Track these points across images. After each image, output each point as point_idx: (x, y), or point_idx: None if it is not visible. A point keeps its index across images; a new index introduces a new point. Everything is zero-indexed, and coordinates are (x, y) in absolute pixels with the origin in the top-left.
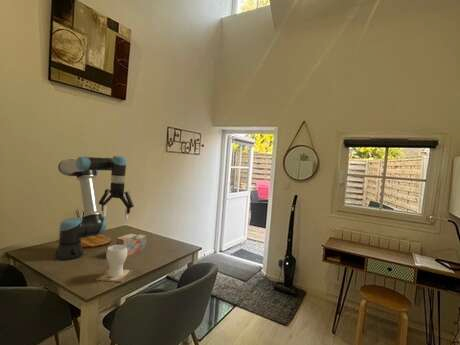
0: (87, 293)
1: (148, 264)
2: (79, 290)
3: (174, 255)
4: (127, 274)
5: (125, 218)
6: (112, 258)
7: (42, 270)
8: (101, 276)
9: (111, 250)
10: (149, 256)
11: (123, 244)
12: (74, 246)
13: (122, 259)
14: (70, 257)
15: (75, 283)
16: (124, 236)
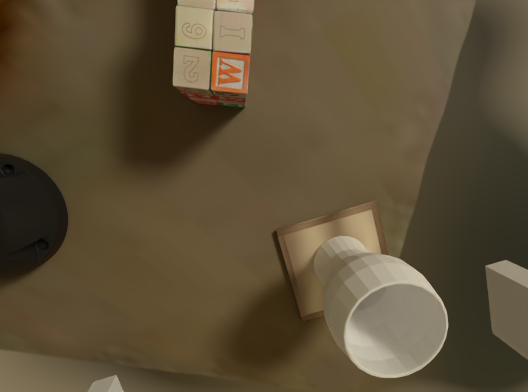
0: (343, 383)
1: (400, 113)
2: (308, 383)
3: None
4: (383, 244)
5: (517, 339)
6: (388, 349)
7: (70, 357)
8: (306, 299)
9: (396, 377)
10: (352, 23)
11: (244, 98)
12: (7, 246)
13: (415, 309)
14: (52, 251)
15: (261, 362)
16: (194, 24)
